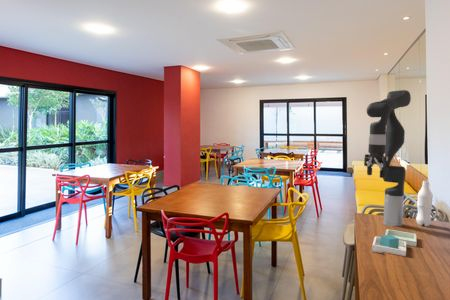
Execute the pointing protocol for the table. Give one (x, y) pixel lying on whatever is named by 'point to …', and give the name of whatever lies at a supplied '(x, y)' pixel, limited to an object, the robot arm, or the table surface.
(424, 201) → the water bottle
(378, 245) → the cream tray
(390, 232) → the sage tray
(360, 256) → the table surface
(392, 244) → the teal cube
